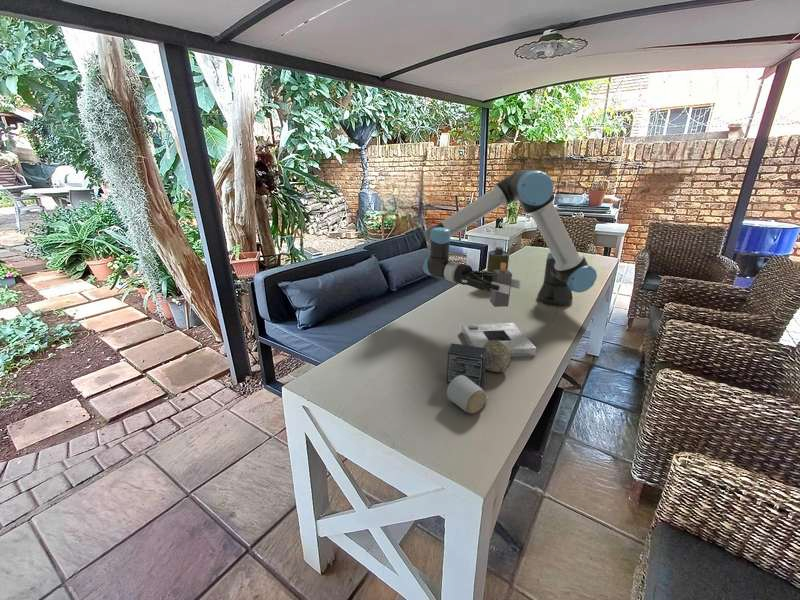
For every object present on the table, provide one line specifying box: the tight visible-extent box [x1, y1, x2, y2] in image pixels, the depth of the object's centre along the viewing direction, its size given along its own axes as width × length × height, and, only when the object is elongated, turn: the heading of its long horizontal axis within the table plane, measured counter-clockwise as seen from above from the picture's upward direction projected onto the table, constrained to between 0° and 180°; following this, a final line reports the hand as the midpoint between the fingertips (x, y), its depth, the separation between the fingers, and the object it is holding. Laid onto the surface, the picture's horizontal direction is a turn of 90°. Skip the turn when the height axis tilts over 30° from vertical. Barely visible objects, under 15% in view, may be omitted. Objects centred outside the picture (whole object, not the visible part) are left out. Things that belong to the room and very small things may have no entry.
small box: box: [445, 343, 487, 390], centre depth 107 cm, size 11×6×10 cm, turn 71°
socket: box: [461, 322, 537, 358], centre depth 131 cm, size 20×20×4 cm
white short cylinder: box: [446, 375, 489, 415], centre depth 98 cm, size 11×8×8 cm
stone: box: [483, 341, 512, 373], centre depth 113 cm, size 6×10×10 cm, turn 51°
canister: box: [486, 246, 511, 272], centre depth 186 cm, size 11×10×20 cm
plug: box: [489, 263, 513, 308], centre depth 128 cm, size 5×5×15 cm
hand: (514, 287), depth 125 cm, fingers closed on plug, 7 cm apart
